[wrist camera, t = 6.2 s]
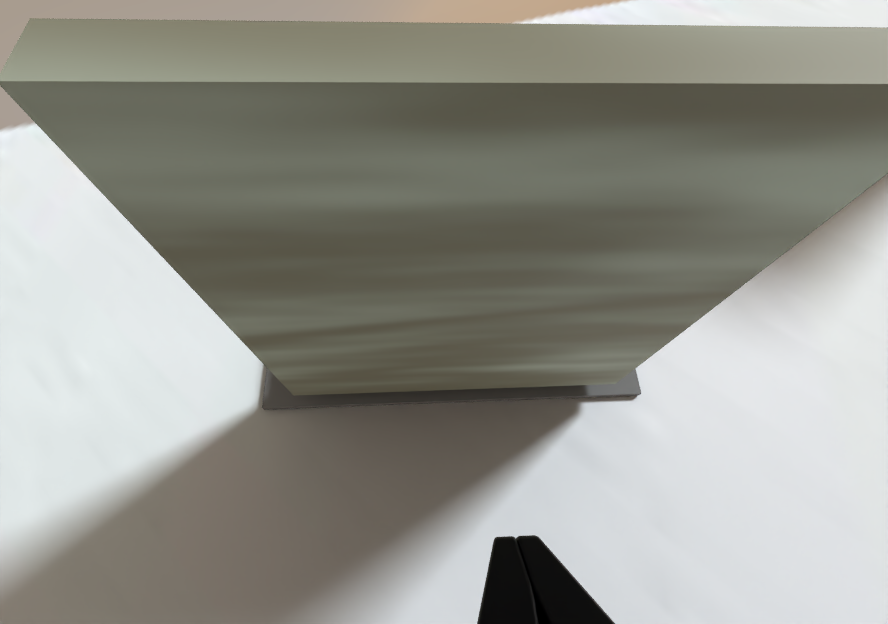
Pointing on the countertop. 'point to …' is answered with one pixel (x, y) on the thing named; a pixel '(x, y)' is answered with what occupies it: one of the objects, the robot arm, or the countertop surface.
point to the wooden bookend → (460, 179)
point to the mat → (441, 394)
